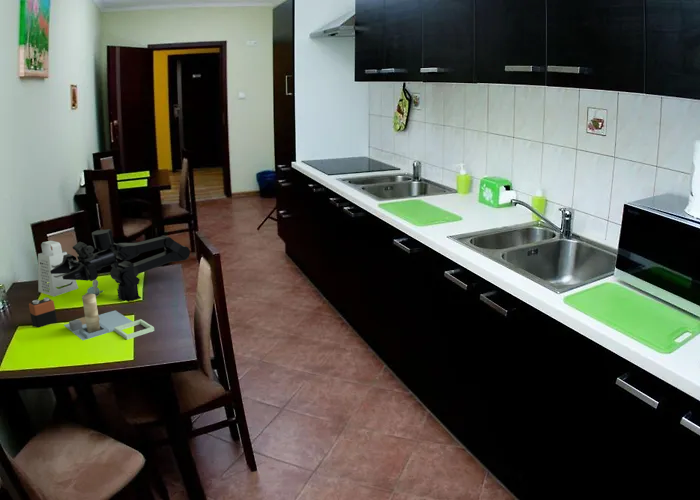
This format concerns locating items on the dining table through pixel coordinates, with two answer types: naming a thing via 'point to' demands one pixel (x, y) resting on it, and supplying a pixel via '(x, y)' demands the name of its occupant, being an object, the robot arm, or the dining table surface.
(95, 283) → the pacifier
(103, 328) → the board
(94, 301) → the dowel
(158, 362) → the dining table surface
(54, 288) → the grater
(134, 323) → the tray
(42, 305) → the battery
